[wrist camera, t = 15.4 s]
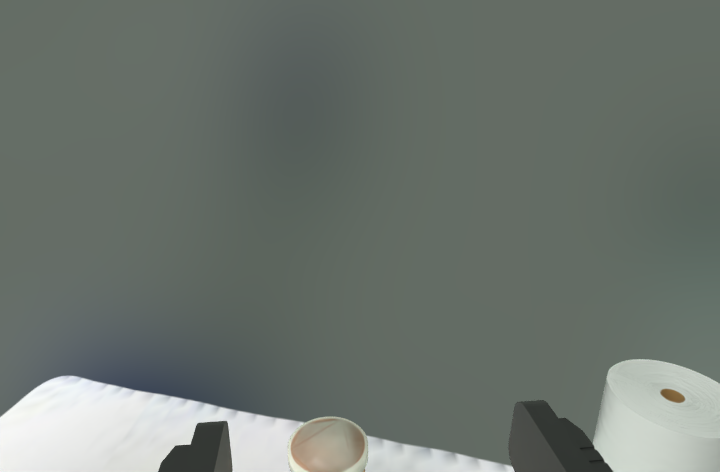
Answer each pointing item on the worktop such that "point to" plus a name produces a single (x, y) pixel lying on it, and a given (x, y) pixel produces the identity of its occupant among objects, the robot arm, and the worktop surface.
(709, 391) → the toilet tissue
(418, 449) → the worktop surface
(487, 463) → the worktop surface
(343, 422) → the terracotta jar
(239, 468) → the worktop surface
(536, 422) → the robot arm
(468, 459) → the worktop surface
